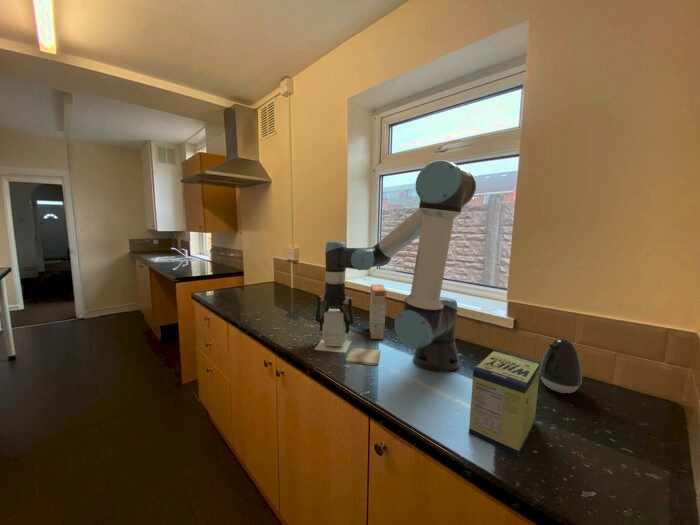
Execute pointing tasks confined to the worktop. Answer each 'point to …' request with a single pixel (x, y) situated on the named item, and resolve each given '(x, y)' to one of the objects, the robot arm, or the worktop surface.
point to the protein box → (504, 400)
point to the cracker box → (377, 311)
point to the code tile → (334, 347)
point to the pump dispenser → (561, 367)
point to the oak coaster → (364, 356)
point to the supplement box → (333, 327)
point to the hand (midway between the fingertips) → (334, 339)
